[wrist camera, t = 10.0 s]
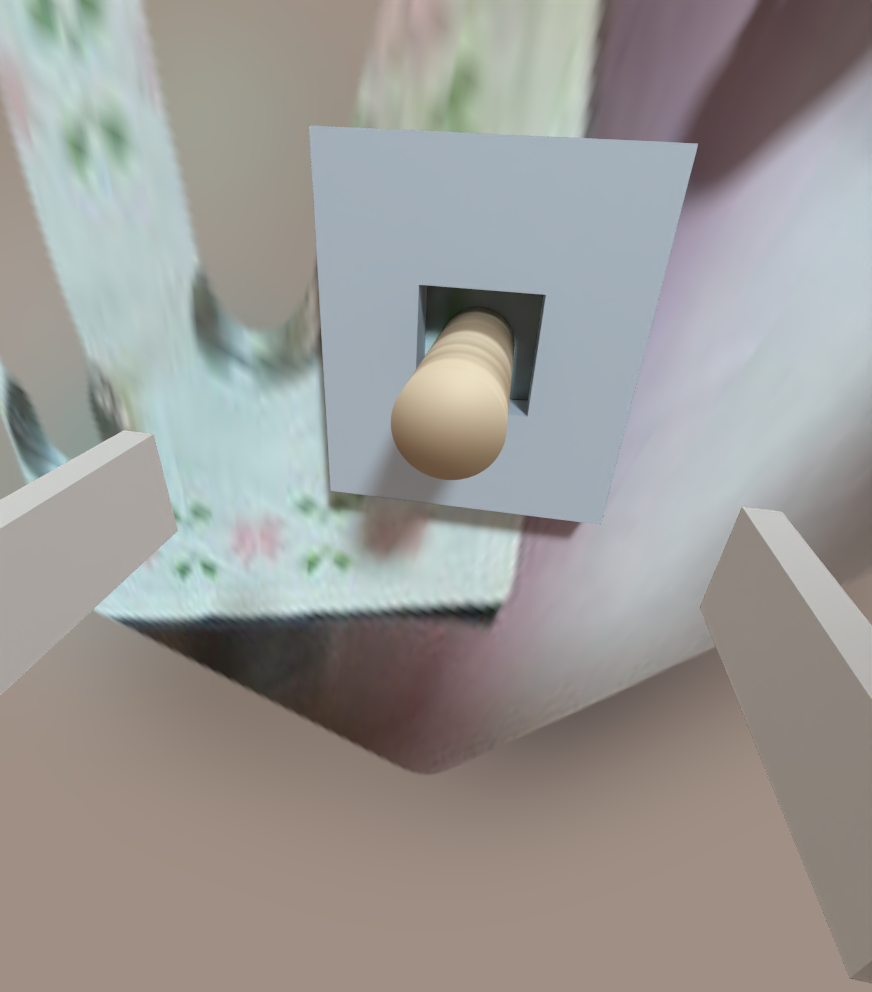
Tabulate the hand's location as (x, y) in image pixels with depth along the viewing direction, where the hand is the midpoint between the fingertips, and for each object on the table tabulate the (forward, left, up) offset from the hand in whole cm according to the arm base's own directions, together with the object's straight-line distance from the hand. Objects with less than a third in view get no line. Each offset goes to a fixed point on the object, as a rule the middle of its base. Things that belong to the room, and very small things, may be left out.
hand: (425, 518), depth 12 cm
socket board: (0, 0, -18) cm, 18 cm away
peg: (0, 0, -18) cm, 18 cm away
